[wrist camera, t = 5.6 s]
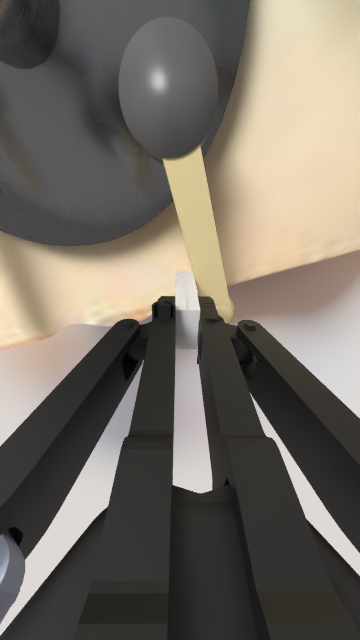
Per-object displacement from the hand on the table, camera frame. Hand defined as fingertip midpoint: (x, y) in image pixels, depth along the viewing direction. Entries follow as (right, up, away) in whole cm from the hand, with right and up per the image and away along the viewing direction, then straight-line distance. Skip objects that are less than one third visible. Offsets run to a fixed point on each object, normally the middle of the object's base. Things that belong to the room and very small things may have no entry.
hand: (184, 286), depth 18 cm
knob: (+1, +6, 0) cm, 6 cm away
